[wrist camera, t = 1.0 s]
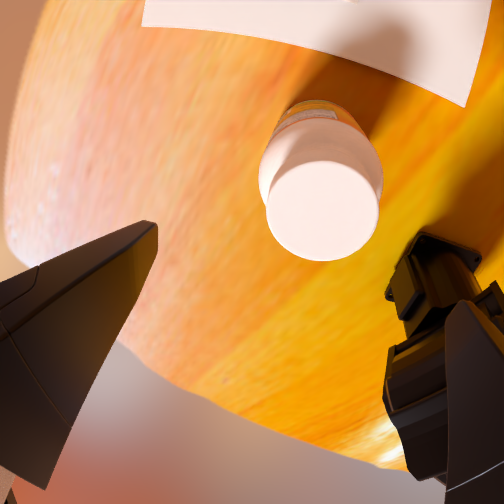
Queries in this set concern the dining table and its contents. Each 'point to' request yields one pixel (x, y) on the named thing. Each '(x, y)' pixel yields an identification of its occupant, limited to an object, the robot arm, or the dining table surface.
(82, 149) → the dining table surface
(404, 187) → the dining table surface
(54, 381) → the robot arm
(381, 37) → the white flat board
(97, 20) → the dining table surface
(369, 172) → the supplement bottle
